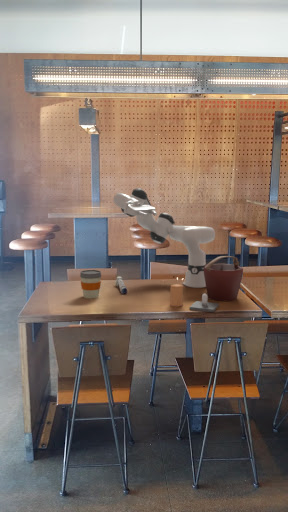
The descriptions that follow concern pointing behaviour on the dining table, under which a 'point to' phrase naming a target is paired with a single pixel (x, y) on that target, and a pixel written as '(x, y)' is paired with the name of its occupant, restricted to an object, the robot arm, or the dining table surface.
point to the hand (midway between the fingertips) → (150, 214)
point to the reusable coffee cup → (90, 283)
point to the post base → (202, 308)
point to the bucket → (223, 279)
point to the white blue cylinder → (121, 285)
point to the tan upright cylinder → (176, 295)
